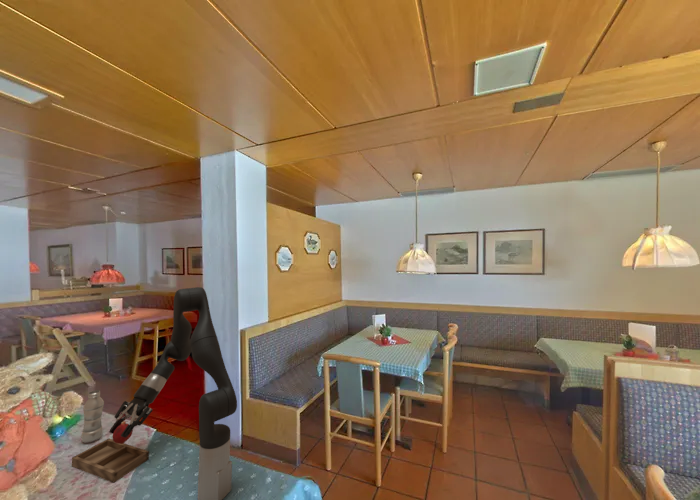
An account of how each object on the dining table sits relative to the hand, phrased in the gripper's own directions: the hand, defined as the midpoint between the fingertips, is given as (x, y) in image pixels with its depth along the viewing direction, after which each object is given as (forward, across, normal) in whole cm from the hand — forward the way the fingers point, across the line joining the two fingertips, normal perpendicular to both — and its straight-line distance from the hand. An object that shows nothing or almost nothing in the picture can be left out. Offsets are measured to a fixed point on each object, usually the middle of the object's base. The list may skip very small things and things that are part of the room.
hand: (117, 434), depth 103 cm
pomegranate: (+2, 0, +4) cm, 5 cm away
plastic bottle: (+4, -27, +14) cm, 31 cm away
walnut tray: (+8, -5, +10) cm, 14 cm away
